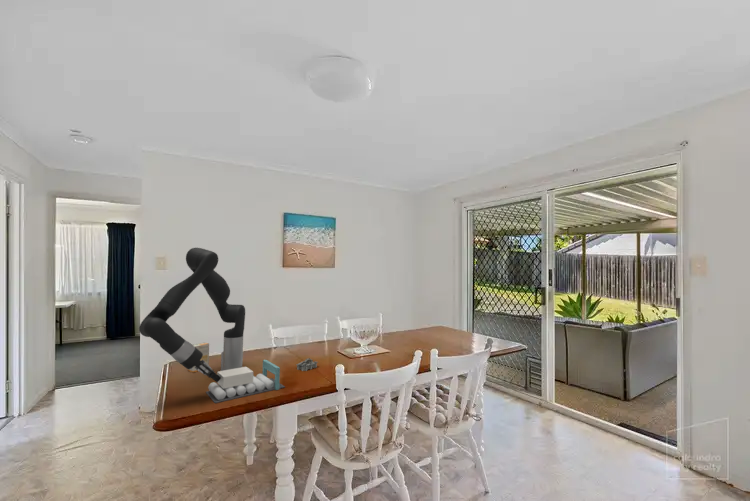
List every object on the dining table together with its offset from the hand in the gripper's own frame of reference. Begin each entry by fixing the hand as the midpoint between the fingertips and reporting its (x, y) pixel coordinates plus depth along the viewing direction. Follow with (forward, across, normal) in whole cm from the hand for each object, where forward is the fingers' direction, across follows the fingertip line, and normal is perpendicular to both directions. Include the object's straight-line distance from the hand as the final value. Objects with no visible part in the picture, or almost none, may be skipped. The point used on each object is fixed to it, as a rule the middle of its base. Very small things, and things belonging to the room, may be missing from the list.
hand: (218, 379), depth 141 cm
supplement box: (+6, +42, +4) cm, 42 cm away
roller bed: (+13, 0, -3) cm, 13 cm away
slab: (+6, 0, -3) cm, 7 cm away
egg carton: (+39, +13, -28) cm, 50 cm away
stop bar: (+20, 0, -11) cm, 23 cm away
